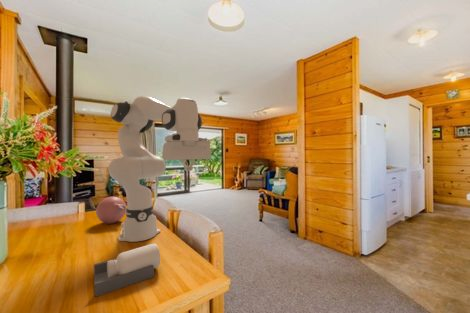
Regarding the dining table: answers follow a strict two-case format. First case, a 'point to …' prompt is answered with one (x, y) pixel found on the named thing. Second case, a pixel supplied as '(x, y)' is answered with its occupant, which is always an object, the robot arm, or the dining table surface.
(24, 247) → the dining table surface
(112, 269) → the pill bottle
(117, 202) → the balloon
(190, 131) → the robot arm
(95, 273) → the u rest
